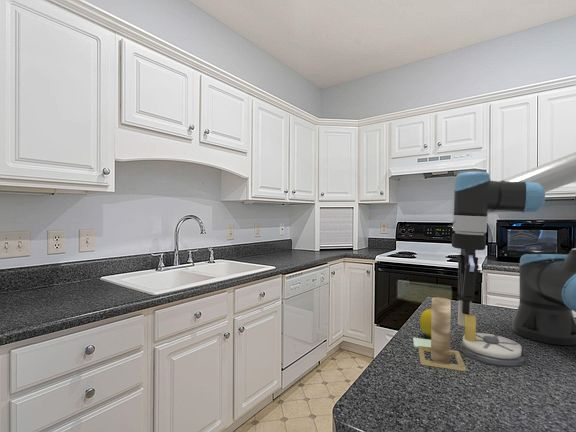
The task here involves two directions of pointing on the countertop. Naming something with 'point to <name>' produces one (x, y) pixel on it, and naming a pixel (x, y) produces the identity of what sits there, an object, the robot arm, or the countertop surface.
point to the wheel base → (492, 358)
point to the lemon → (426, 321)
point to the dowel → (440, 329)
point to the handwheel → (488, 342)
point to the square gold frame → (440, 364)
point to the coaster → (421, 342)
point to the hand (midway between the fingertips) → (463, 325)
